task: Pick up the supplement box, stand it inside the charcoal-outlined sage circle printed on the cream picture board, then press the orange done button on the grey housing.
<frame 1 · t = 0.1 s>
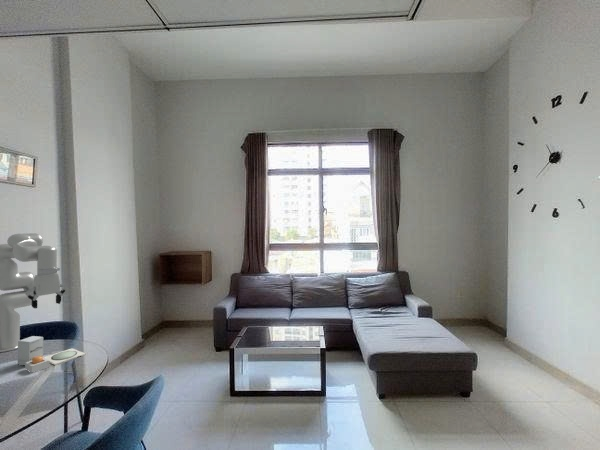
hand: (46, 305, 153), 31 cm above the table, tool pointing down, fingers open, 9 cm apart
done button: (37, 360, 152), point 4 cm above the table, slide at 0.0 cm
supplement box: (30, 363, 157), on the table
button housing: (37, 368, 152), on the table
picture board: (64, 357, 165), on the table
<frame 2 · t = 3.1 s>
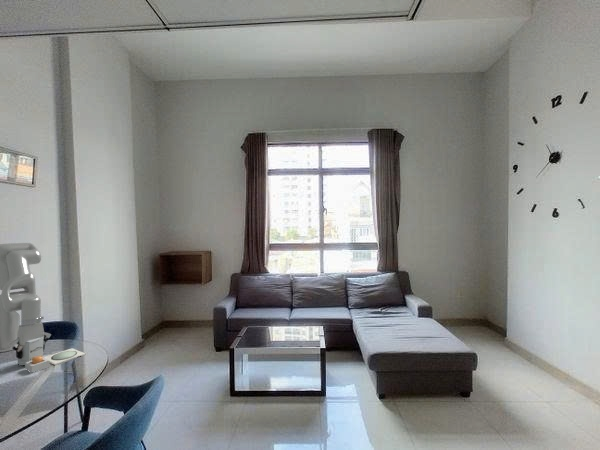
hand: (30, 354, 157), 4 cm above the table, tool pointing down, fingers closed on supplement box, 8 cm apart
supplement box: (30, 363, 157), on the table, touching gripper
everything else where it was.
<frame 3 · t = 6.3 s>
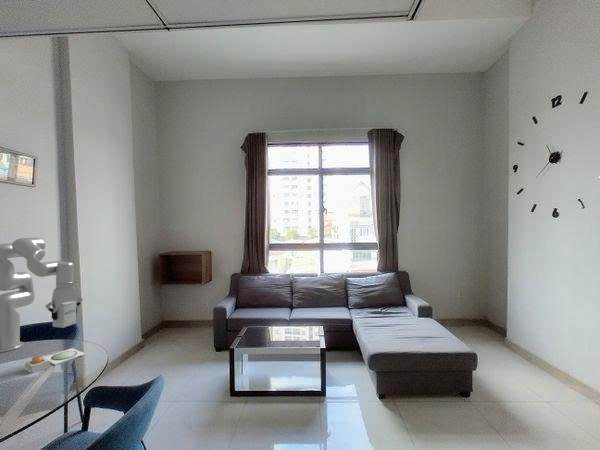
hand: (64, 317, 164), 22 cm above the table, tool pointing down, fingers closed on supplement box, 8 cm apart
supplement box: (64, 325, 164), point 17 cm above the table, touching gripper
everything else where it was.
when the fingers open (6 cm above the table, at t = 9.7 s): supplement box drops 1 cm, resting on picture board.
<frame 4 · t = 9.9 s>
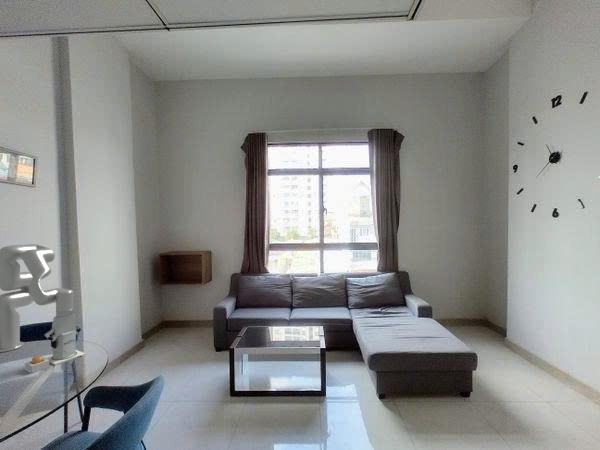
hand: (64, 344, 164), 7 cm above the table, tool pointing down, fingers open, 9 cm apart
supplement box: (64, 355, 165), point 1 cm above the table, touching picture board
everything else where it was.
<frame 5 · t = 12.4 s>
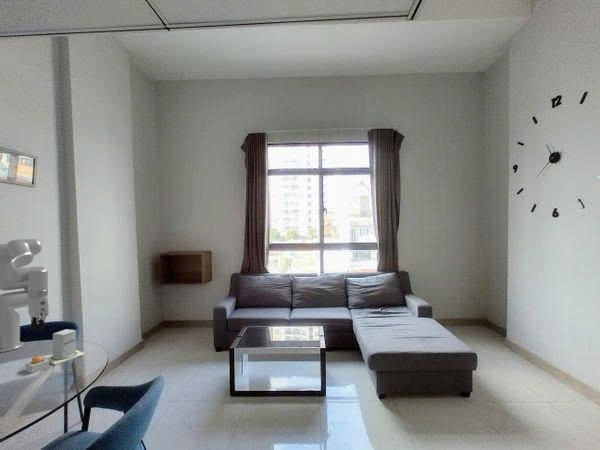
hand: (37, 329, 151), 19 cm above the table, tool pointing down, fingers open, 4 cm apart
nothing on the table moved.
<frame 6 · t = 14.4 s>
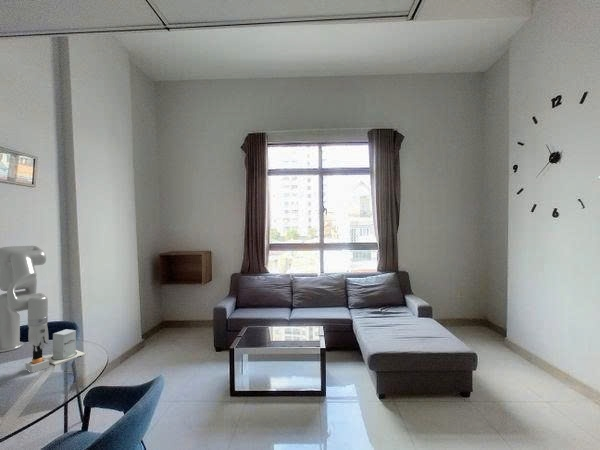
hand: (37, 358, 151), 5 cm above the table, tool pointing down, fingers closed
done button: (37, 361, 152), point 4 cm above the table, slide at 0.3 cm, touching gripper
everything else where it was.
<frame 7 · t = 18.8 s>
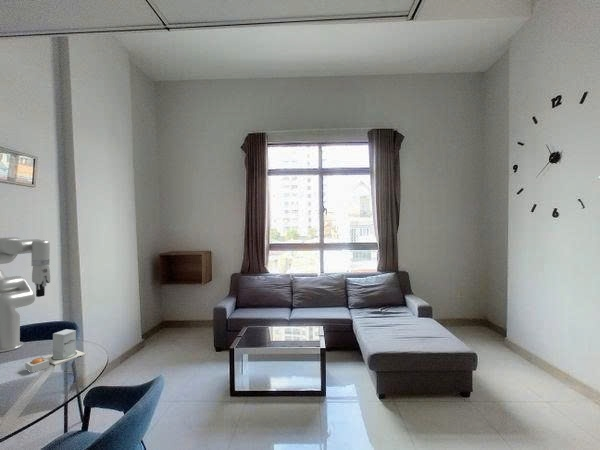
hand: (40, 296, 167), 32 cm above the table, tool pointing down, fingers closed
done button: (37, 362, 152), point 3 cm above the table, slide at 1.1 cm
everything else where it was.
at the end: supplement box 0.3 cm off-centre on the picture board, point 0.8 cm above the picture board's base; supplement box tilted 0°; done button slide at 1.1 cm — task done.
